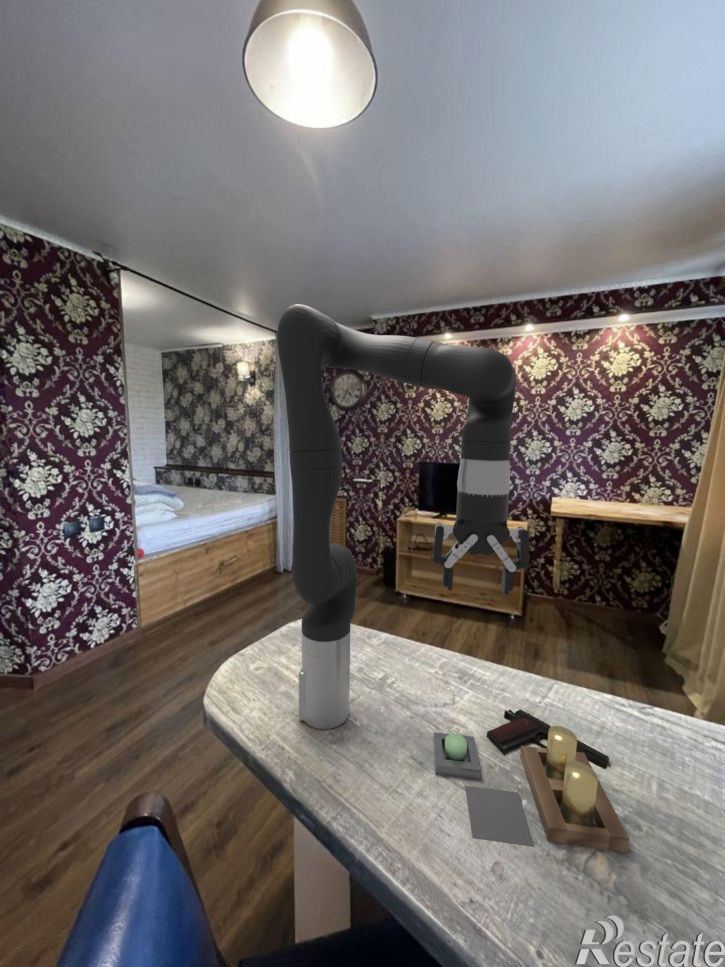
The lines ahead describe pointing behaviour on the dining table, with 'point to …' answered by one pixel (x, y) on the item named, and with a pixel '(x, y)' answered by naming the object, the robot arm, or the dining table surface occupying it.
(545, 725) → the handgun
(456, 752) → the button
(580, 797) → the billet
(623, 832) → the brown wooden rectangular frame
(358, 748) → the dining table surface
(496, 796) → the mat
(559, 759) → the billet seated
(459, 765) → the button housing
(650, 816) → the dining table surface
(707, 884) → the dining table surface
